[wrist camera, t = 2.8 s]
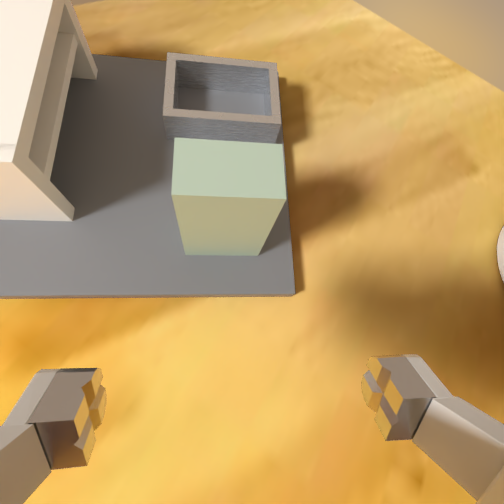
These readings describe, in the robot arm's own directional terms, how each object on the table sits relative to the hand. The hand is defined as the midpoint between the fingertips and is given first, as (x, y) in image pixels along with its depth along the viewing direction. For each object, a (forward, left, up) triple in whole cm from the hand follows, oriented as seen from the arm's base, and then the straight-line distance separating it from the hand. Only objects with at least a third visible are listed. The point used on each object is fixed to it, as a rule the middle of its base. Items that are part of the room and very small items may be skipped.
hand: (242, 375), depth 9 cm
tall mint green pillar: (0, -10, -14) cm, 17 cm away
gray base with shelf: (+6, -17, -15) cm, 24 cm away
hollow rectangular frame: (0, -23, -14) cm, 27 cm away
